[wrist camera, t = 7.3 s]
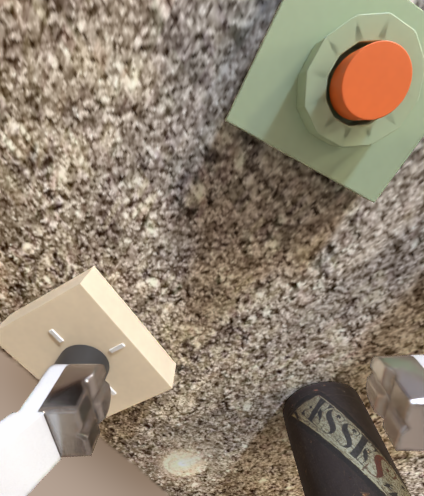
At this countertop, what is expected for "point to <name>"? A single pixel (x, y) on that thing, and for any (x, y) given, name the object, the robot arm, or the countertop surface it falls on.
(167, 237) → the countertop surface
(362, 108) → the stop button
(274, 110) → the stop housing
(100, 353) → the timer knob
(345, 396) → the container
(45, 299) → the panel
